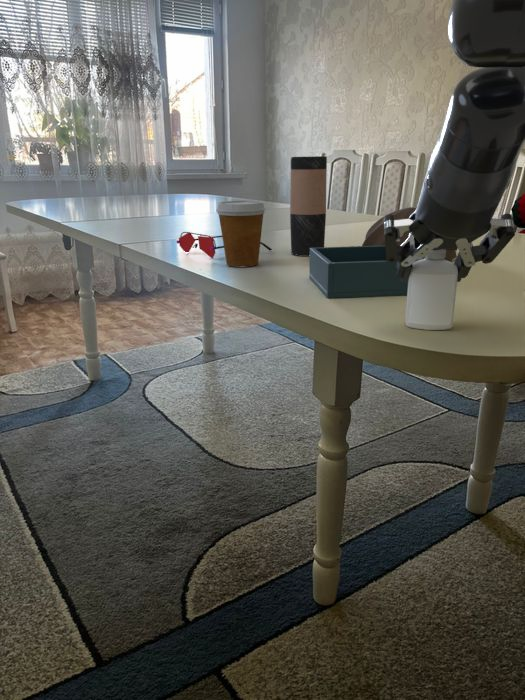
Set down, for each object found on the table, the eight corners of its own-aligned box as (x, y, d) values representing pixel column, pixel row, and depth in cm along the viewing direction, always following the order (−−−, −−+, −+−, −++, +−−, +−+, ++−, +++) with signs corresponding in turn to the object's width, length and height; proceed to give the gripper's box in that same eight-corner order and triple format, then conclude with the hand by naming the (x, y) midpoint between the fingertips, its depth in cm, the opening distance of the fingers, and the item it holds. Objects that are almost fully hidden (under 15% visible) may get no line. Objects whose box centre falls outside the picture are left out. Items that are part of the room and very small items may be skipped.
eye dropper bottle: (441, 335, 64) (452, 232, 60) (399, 326, 68) (406, 228, 64) (457, 326, 67) (468, 228, 63) (415, 318, 71) (423, 225, 67)
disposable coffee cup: (228, 271, 102) (226, 205, 98) (211, 262, 110) (209, 201, 106) (274, 266, 106) (273, 202, 101) (254, 258, 114) (253, 199, 110)
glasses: (176, 253, 121) (174, 230, 120) (234, 244, 132) (233, 223, 130) (212, 261, 112) (211, 236, 110) (272, 251, 122) (272, 228, 120)
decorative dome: (463, 265, 103) (469, 212, 100) (357, 263, 107) (360, 211, 104) (451, 249, 121) (455, 203, 118) (361, 247, 125) (363, 202, 121)
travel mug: (332, 253, 119) (334, 156, 112) (309, 257, 114) (310, 156, 107) (305, 249, 124) (307, 156, 117) (282, 253, 119) (282, 157, 112)
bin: (390, 275, 96) (391, 245, 95) (421, 294, 83) (424, 260, 81) (309, 278, 95) (309, 247, 93) (327, 298, 81) (328, 263, 80)
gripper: (537, 149, 53) (485, 251, 68) (387, 151, 54) (369, 251, 69) (550, 210, 50) (492, 302, 65) (391, 211, 51) (371, 301, 66)
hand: (429, 275), depth 67 cm, fingers closed on eye dropper bottle, 5 cm apart
